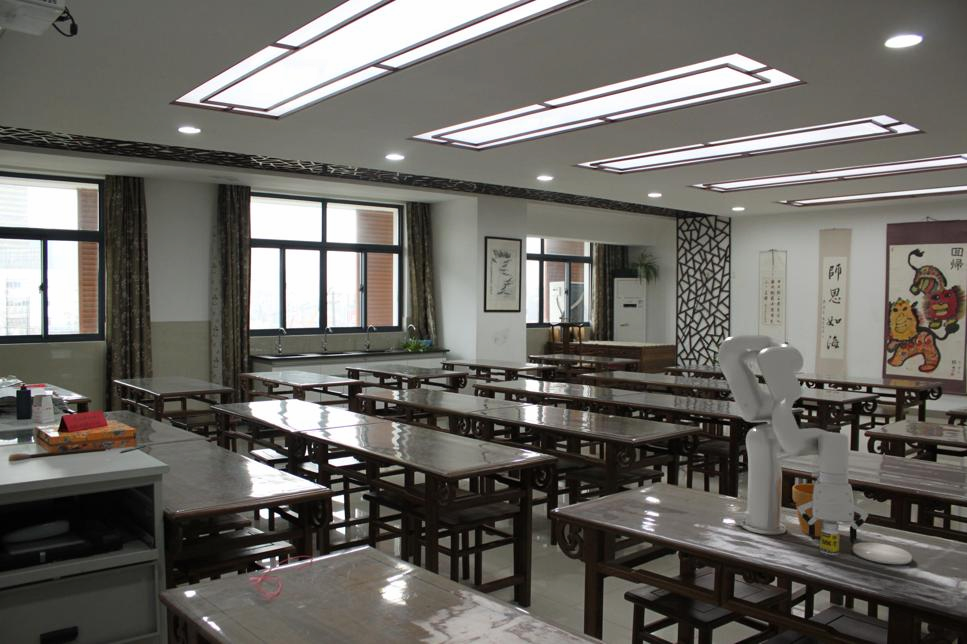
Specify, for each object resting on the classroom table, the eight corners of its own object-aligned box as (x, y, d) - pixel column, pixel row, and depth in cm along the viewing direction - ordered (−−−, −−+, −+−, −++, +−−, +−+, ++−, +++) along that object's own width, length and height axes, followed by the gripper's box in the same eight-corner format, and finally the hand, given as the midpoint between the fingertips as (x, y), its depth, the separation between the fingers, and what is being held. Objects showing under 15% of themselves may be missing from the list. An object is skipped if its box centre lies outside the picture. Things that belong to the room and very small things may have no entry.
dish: (855, 561, 192) (856, 555, 192) (849, 545, 205) (850, 539, 205) (916, 569, 187) (916, 563, 186) (906, 552, 200) (906, 546, 200)
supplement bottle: (819, 553, 197) (820, 523, 197) (820, 548, 202) (821, 518, 201) (838, 556, 195) (839, 526, 195) (839, 551, 199) (840, 521, 199)
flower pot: (837, 543, 206) (839, 498, 206) (785, 533, 215) (787, 490, 214) (847, 531, 217) (849, 488, 217) (797, 522, 226) (799, 481, 225)
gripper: (799, 478, 197) (798, 540, 197) (870, 483, 191) (869, 548, 191) (797, 472, 204) (797, 533, 204) (866, 478, 198) (865, 540, 198)
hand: (832, 540), depth 198 cm, fingers open, 9 cm apart
